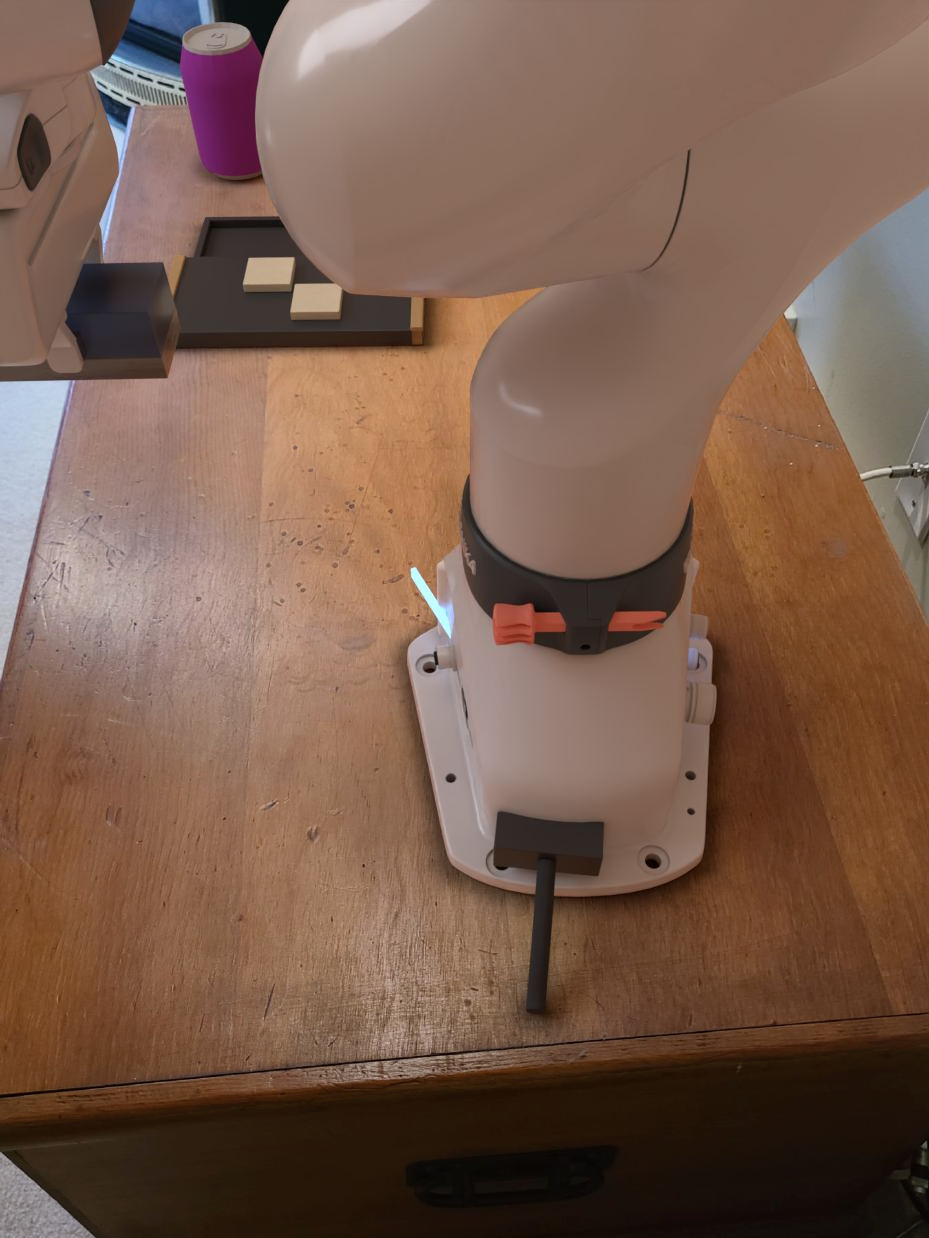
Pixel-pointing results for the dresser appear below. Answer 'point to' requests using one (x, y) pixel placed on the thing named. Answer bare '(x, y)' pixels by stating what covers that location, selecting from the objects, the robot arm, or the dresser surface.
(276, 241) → the tray
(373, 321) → the slate board
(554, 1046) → the dresser surface
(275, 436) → the dresser surface
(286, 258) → the chalk tile
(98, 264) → the eraser
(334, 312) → the chalk tile
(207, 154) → the beverage can
